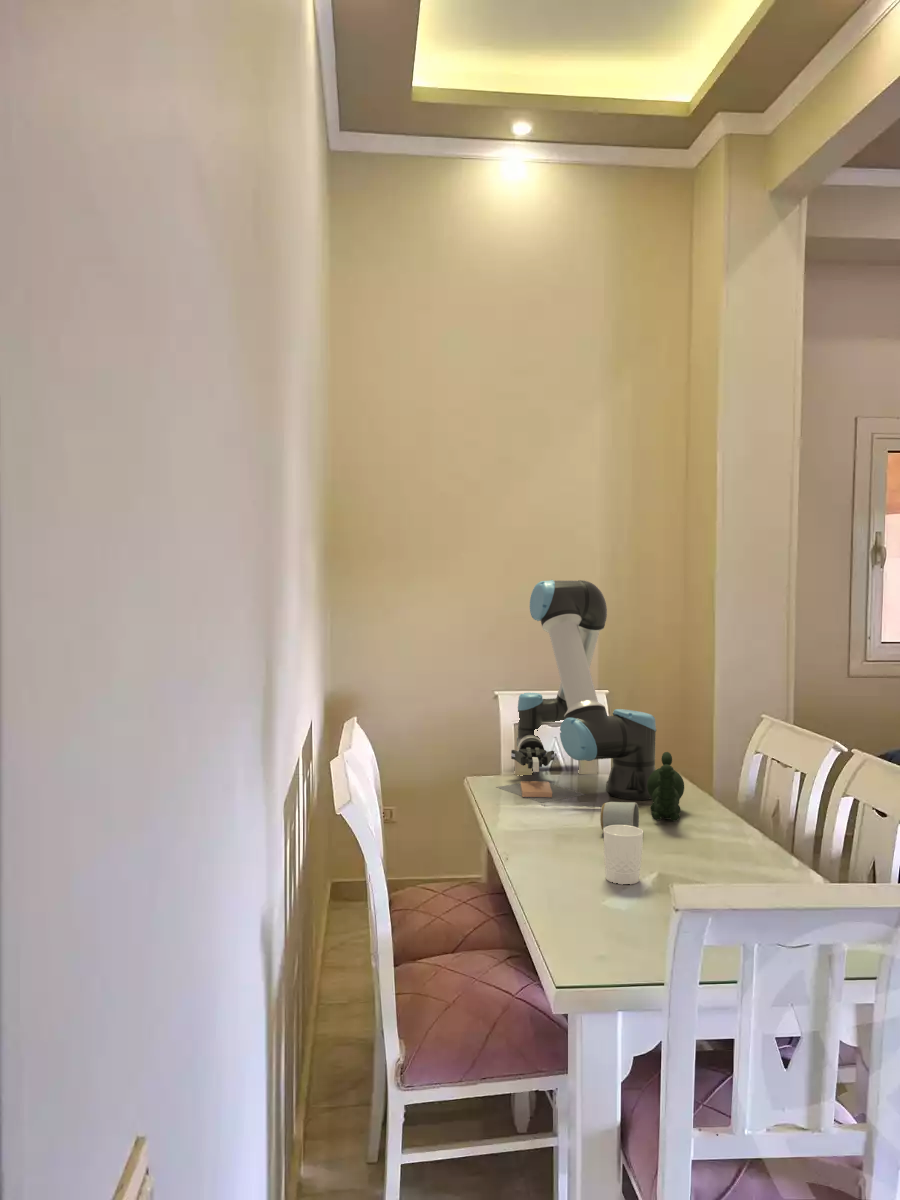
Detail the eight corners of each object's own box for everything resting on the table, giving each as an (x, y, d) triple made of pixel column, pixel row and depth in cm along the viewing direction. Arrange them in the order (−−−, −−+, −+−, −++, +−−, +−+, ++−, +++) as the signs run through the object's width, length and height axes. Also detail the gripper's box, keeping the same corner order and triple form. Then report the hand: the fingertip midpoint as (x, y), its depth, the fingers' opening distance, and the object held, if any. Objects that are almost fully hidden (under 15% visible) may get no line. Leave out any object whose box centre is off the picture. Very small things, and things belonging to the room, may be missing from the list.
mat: (586, 797, 246) (586, 794, 246) (541, 805, 237) (541, 802, 237) (539, 782, 262) (539, 780, 262) (495, 789, 253) (495, 787, 253)
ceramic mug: (605, 827, 217) (605, 796, 217) (639, 831, 214) (639, 799, 214) (596, 840, 208) (596, 807, 207) (631, 844, 205) (631, 811, 204)
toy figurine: (685, 836, 216) (682, 801, 241) (687, 760, 214) (684, 732, 238) (645, 833, 218) (647, 798, 243) (647, 757, 216) (648, 730, 240)
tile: (520, 781, 254) (522, 791, 242) (548, 781, 253) (552, 792, 241) (520, 786, 254) (522, 797, 242) (548, 787, 254) (552, 798, 242)
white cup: (614, 870, 186) (615, 822, 186) (649, 878, 181) (650, 829, 181) (595, 879, 180) (596, 830, 180) (630, 889, 175) (631, 838, 175)
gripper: (552, 762, 270) (559, 780, 247) (509, 761, 271) (512, 780, 247) (553, 737, 270) (560, 753, 247) (509, 737, 271) (512, 753, 247)
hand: (536, 766), depth 247 cm, fingers closed
